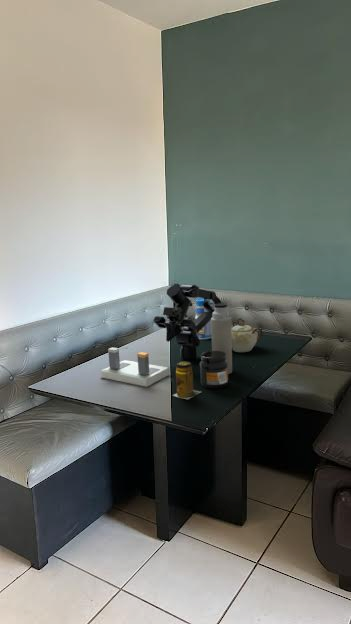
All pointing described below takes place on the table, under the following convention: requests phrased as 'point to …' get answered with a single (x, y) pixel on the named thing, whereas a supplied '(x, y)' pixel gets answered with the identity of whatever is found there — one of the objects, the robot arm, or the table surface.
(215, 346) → the thermos bottle
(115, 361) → the on handle
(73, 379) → the table surface
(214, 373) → the supplement container
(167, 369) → the box
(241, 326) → the sugar bowl
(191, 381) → the condiment
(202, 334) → the beverage bottle
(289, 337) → the table surface
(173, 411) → the table surface
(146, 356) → the orange-capped grey pillar
